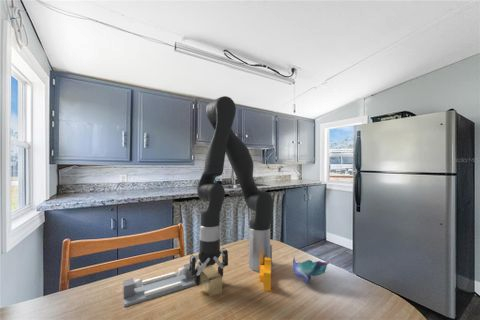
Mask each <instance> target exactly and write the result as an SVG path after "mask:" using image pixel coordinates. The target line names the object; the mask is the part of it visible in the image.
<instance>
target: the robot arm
mask: <svg viewBox="0 0 480 320" xmlns="http://www.w3.org/2000/svg"><path fill="white" fill-rule="evenodd" d="M236 112H237V107H236V103H235V102H234V100H233V98H232V97H229V96H226V95H225V96H220V97H217V98H216V99H214V100H212V101H210V102H209V103H207V104H206V107H205V114H206V117H207V120H208V121H209V124H211V126H212V128H213V130H214V133H213V136H212V139H211V141H210V143H209V145H208V147H207V151H206V155H205V160H204V161H205V162H204V169H203V171H202V174H201V176H200V179H199V180H198V181H199V182H198V185H197V189H196V194H197V197H198V198H199V199H200V200H201V201H205V202H209V203H208V207H204V208H202V209H201V211H200V227H199V245H198V246H199V247H198V248H199V252H198V254H197V255H193V254H191V255H190V257H189V263H190V267H189V272H190V273H191V275H195V283H196V284H197V285H196V286H197V287H199V286H201V283H200V273H201V271H202V270H203V269H204V268H205V266H206V267H207V266H210V265H212V266H214V265H215V264H216V265H217V266H218V267H217V272H218V273H219V274H220V275H221V276H222V278H223V276H224V268H225V267H228V266H229V254H228V253H229V251H228V250H227V249H226V248H224V247H223V248H222V249H221V224H220V223H221V210H222V207H223V204H224V201H225V197H226V193H225V191H226V190H225V188H224V186H223V185H222V183H219V182H215V180H216V178H218V177H222V175H223V173H224V167H225V166H224V165H225V158H226V157H227V159H228V162H229V164H230V166H231V168H232V170H233V172H234V174H235V177H236V179H237V181H238V183H239V187H240V189H241V193H242V194H243V198H244V202H245V204H246V206H247V207H248V208H249V209H250V210H251V211H254V212H255V214H254V215H255V218H251V219H250V220H249V223H248V224H249V225H248V234H249V235H248V267H249V269H250V270H252V271H255V272H259V273H260V265H264V264H265V257H267V258H271V268H272V267H273V244H271V224H272V221H273V210H274V209H273V208H274V199H273V196H272V195H271V193H270V192H268V191H264V190H259V188H258V186H257V184H256V182H255V179H254V160H253V158H252V156H251V153H250V151H249V149H248V146H247V145H246V144H245V143H244V142H243V140H242V139H241V138H239V136H237V135H236V134H235V131H234V130H233V129H232V127H233V123H234V120H235V117H236ZM220 257H221V258H222V259H221V260H222V262H221V261H220V260H219V258H220ZM198 260H199V261H198ZM197 262H198V263H197ZM196 264H197V265H196Z"/></svg>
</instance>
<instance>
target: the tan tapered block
mask: <svg viewBox="0 0 480 320" xmlns="http://www.w3.org/2000/svg"><path fill="white" fill-rule="evenodd" d="M200 285H201V286H202V287H203V288H204V290H205V292H206V293H207V295H208V296H209V298H211V297H213V296H214V297H215V296H217V295H219V294H222V293H223V277H222V276H221V275H220V274H219V273H218V270H216V269H215V267H214V265H210V266H207V267H206V266H205V268H204V269H203V270H202V271H201V273H200Z"/></svg>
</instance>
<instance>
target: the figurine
mask: <svg viewBox="0 0 480 320" xmlns="http://www.w3.org/2000/svg"><path fill="white" fill-rule="evenodd" d="M331 262H332V261H331V260H330V261H324V262H323V261H320V260H319V261H313V260H311V259H307V260H305V261H303V262H301V261H298V262H296V256H295V255H294V256H293V260H292V268H293V272H294V275H295V276H296V277H297V278H299V279H301V280H304V282H305V283H306V284H308V283H309V282H310V281H311V277H318V276H322V275H323V274H325V273H326V270H327V267H328V265H329V264H330V263H331Z"/></svg>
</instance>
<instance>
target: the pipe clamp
mask: <svg viewBox="0 0 480 320" xmlns="http://www.w3.org/2000/svg"><path fill="white" fill-rule="evenodd" d="M258 281H259V282H263V291H265V292H272V289H271V288H272V267H271V258H267V257H265V264H264V265H260V272H259V280H258Z"/></svg>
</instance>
